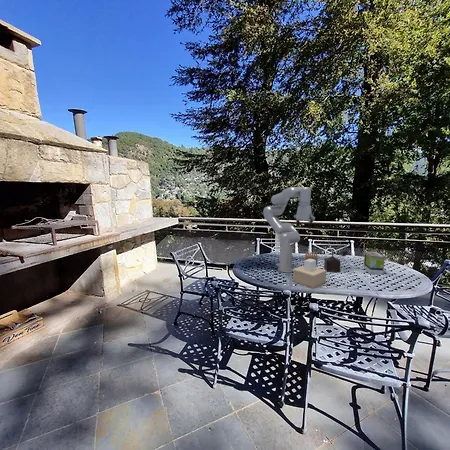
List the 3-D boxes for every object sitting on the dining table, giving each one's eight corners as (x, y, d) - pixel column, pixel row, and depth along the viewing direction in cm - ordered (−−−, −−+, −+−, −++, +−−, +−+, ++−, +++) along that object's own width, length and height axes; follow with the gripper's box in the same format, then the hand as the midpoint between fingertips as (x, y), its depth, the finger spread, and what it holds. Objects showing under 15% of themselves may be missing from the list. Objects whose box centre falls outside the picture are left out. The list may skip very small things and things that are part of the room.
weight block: (303, 269, 176) (304, 260, 175) (309, 267, 181) (309, 258, 180) (310, 271, 173) (310, 262, 172) (315, 269, 177) (316, 260, 176)
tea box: (383, 274, 193) (385, 256, 191) (369, 274, 195) (371, 255, 193) (376, 269, 208) (377, 251, 206) (363, 268, 210) (364, 251, 208)
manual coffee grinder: (326, 272, 200) (327, 250, 198) (323, 268, 211) (324, 247, 208) (347, 273, 198) (348, 251, 195) (343, 268, 208) (344, 247, 206)
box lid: (292, 270, 178) (292, 269, 178) (305, 265, 189) (305, 264, 188) (313, 276, 165) (313, 275, 165) (326, 271, 176) (326, 270, 176)
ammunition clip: (304, 264, 221) (305, 251, 219) (304, 264, 222) (304, 251, 221) (317, 265, 219) (317, 251, 218) (316, 264, 221) (317, 251, 220)
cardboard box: (293, 281, 179) (293, 271, 178) (305, 276, 189) (306, 266, 188) (313, 288, 167) (313, 276, 166) (325, 282, 177) (326, 271, 176)
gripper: (291, 204, 186) (290, 226, 188) (312, 205, 173) (311, 229, 175) (297, 203, 191) (296, 225, 193) (318, 204, 177) (317, 228, 180)
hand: (303, 227), depth 184 cm, fingers open, 9 cm apart
